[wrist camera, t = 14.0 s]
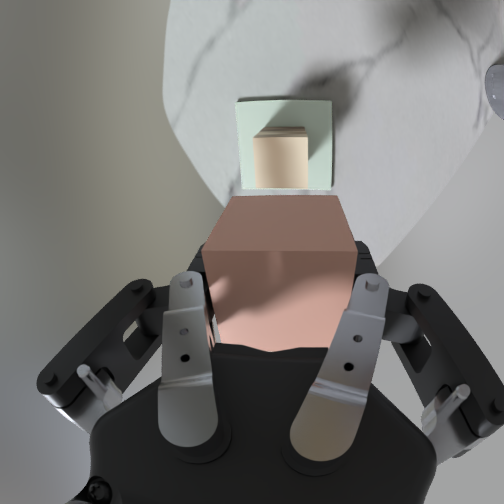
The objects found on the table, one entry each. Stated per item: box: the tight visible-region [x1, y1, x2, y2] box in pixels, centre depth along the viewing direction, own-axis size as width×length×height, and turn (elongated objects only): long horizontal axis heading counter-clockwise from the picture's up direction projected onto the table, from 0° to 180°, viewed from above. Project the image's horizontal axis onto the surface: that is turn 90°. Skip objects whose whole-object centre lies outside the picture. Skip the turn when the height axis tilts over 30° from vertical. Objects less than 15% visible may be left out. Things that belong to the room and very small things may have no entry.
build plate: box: [235, 100, 332, 190], centre depth 33 cm, size 12×12×1 cm
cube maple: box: [253, 131, 308, 189], centre depth 27 cm, size 5×5×5 cm
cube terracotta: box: [201, 195, 358, 352], centre depth 12 cm, size 5×5×5 cm
